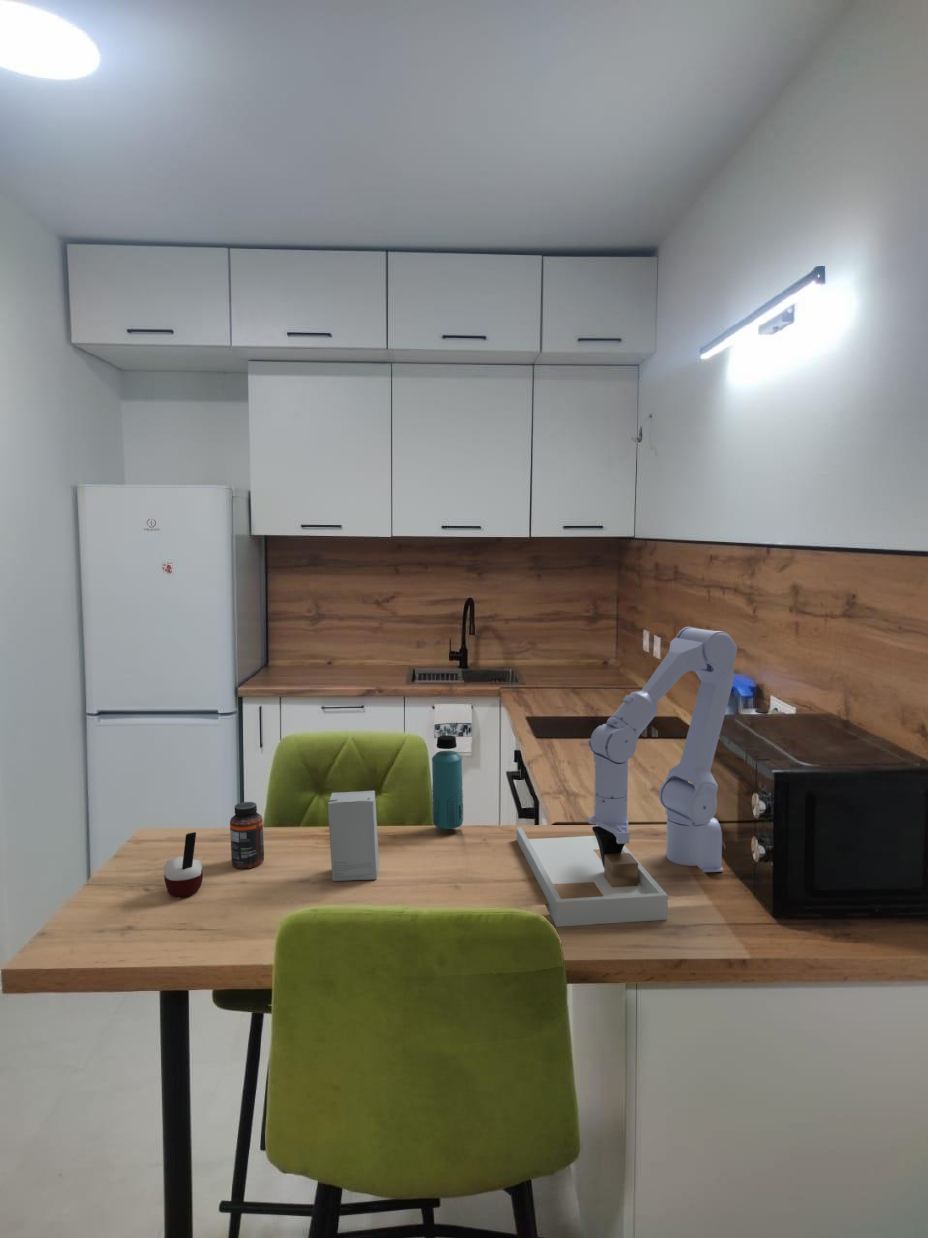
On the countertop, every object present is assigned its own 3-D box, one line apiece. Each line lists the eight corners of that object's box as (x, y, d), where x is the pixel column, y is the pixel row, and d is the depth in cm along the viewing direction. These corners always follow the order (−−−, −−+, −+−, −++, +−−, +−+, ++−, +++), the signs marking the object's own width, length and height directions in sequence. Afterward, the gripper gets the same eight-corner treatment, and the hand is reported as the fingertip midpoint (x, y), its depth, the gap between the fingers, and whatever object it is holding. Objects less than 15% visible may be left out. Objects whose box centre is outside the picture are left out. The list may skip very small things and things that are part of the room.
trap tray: (605, 842, 159) (605, 823, 158) (667, 919, 126) (667, 895, 126) (516, 847, 156) (516, 827, 156) (556, 926, 124) (556, 902, 123)
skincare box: (379, 868, 147) (377, 789, 145) (376, 881, 141) (375, 800, 139) (333, 868, 146) (331, 790, 145) (329, 882, 140) (327, 800, 139)
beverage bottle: (463, 836, 162) (462, 740, 161) (430, 836, 163) (430, 740, 161) (463, 825, 169) (463, 732, 167) (432, 825, 169) (431, 732, 167)
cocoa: (167, 888, 140) (162, 821, 139) (205, 882, 141) (200, 816, 141) (162, 909, 130) (157, 837, 130) (202, 903, 132) (197, 832, 131)
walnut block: (629, 875, 139) (629, 853, 139) (637, 885, 135) (638, 863, 135) (604, 876, 139) (604, 854, 138) (612, 887, 134) (612, 864, 134)
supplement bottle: (258, 855, 153) (256, 797, 152) (268, 865, 148) (267, 806, 147) (227, 861, 150) (225, 803, 149) (237, 872, 145) (235, 812, 144)
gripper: (578, 782, 146) (577, 853, 147) (600, 808, 132) (599, 887, 133) (615, 780, 147) (614, 851, 148) (641, 806, 132) (640, 884, 134)
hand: (610, 868), depth 141 cm, fingers closed
